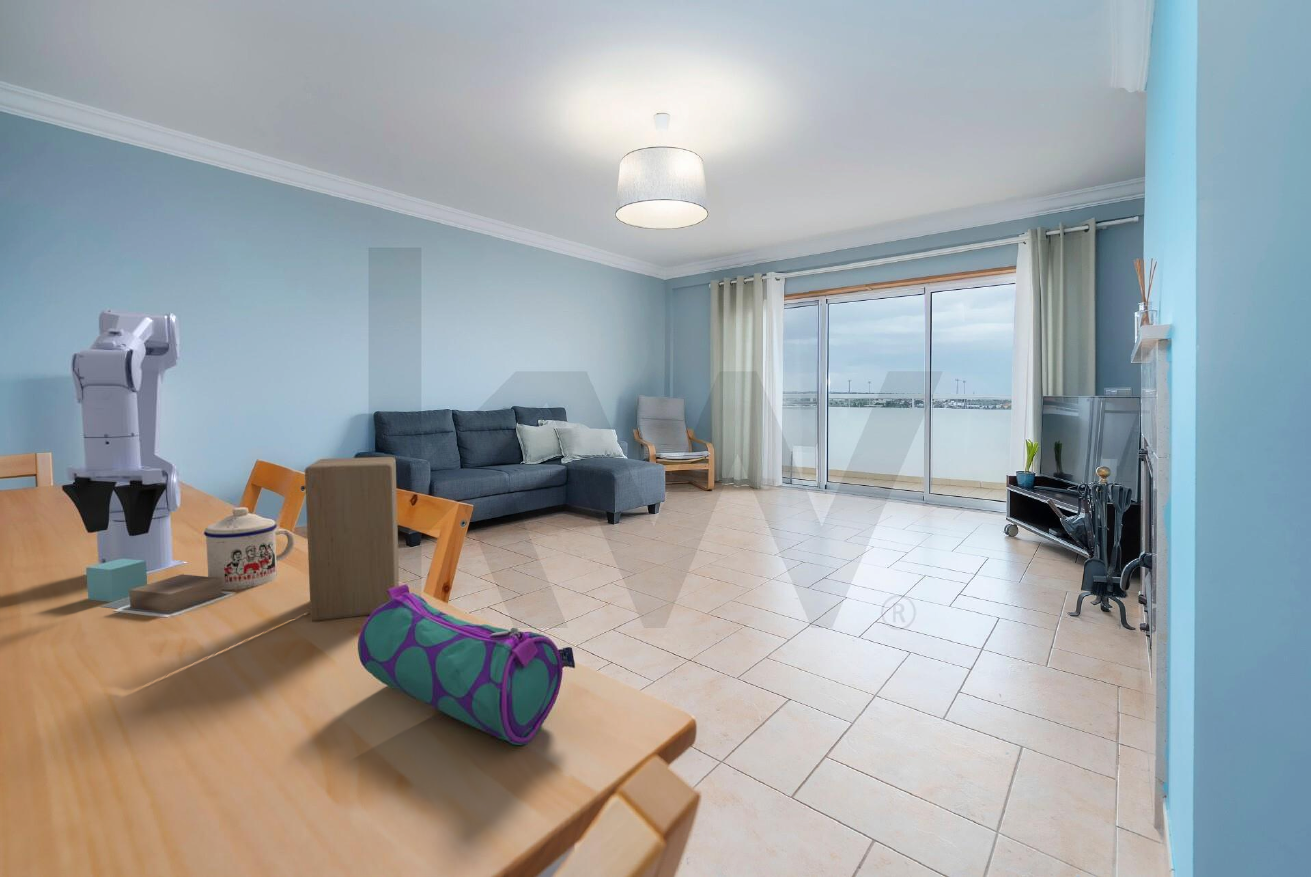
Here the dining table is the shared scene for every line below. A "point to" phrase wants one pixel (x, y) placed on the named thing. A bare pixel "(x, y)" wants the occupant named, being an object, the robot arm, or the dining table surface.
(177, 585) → the walnut base
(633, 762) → the dining table surface
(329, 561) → the wooden block
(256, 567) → the teacup with lid
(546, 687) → the pencil case
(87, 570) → the teal cube
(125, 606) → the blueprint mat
